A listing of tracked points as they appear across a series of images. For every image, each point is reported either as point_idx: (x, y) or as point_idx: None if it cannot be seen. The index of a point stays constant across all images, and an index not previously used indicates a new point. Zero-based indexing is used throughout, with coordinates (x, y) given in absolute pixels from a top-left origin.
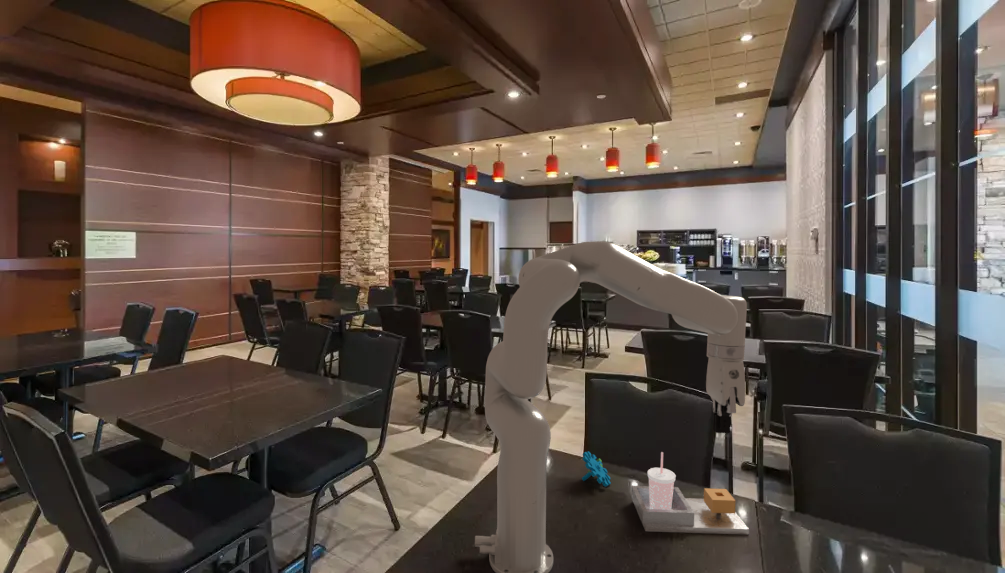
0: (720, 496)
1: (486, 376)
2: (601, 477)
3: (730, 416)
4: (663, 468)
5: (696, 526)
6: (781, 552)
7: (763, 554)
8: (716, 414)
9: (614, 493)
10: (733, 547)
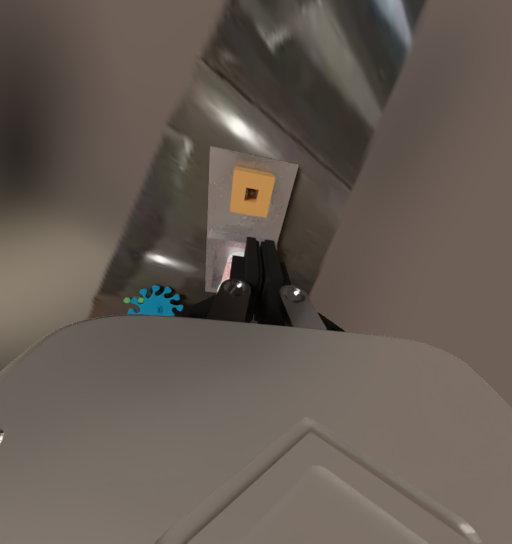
0: (258, 197)
1: None
2: (173, 305)
3: (296, 289)
4: (219, 287)
5: (276, 236)
6: (345, 140)
7: (338, 173)
8: (251, 318)
9: (188, 287)
10: (314, 205)
